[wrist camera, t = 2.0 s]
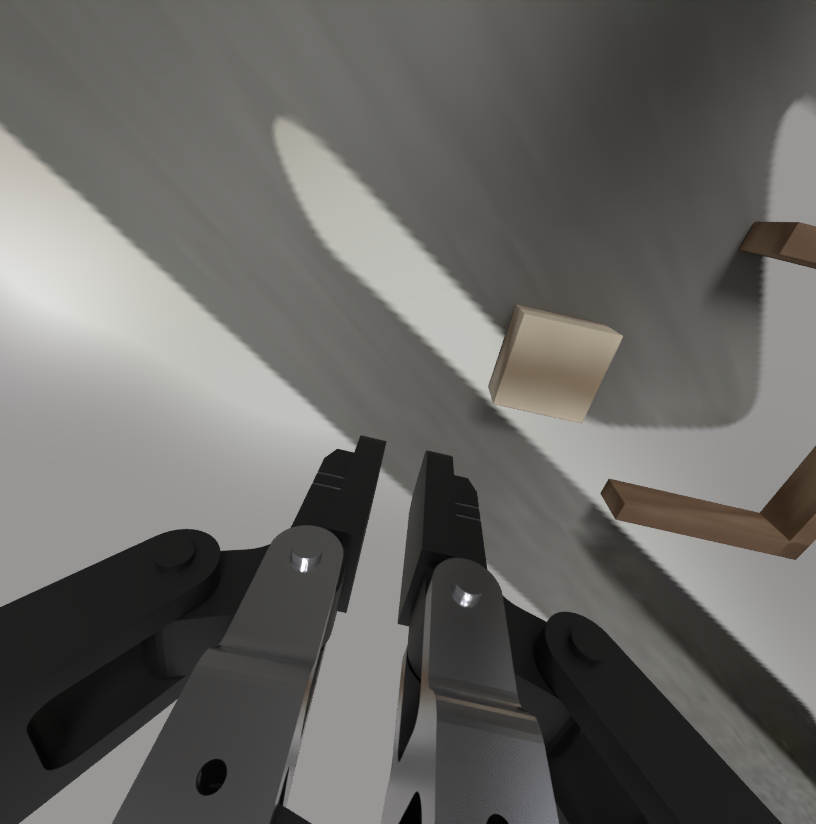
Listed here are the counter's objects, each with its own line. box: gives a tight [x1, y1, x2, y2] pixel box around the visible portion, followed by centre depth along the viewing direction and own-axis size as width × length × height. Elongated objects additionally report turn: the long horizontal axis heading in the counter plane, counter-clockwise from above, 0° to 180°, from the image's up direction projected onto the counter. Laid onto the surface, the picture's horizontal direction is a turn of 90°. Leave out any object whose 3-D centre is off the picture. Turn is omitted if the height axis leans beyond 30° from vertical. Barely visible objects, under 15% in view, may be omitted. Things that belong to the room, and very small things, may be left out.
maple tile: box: [488, 305, 623, 423], centre depth 25 cm, size 6×6×3 cm
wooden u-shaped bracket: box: [601, 222, 816, 560], centre depth 25 cm, size 20×14×3 cm
